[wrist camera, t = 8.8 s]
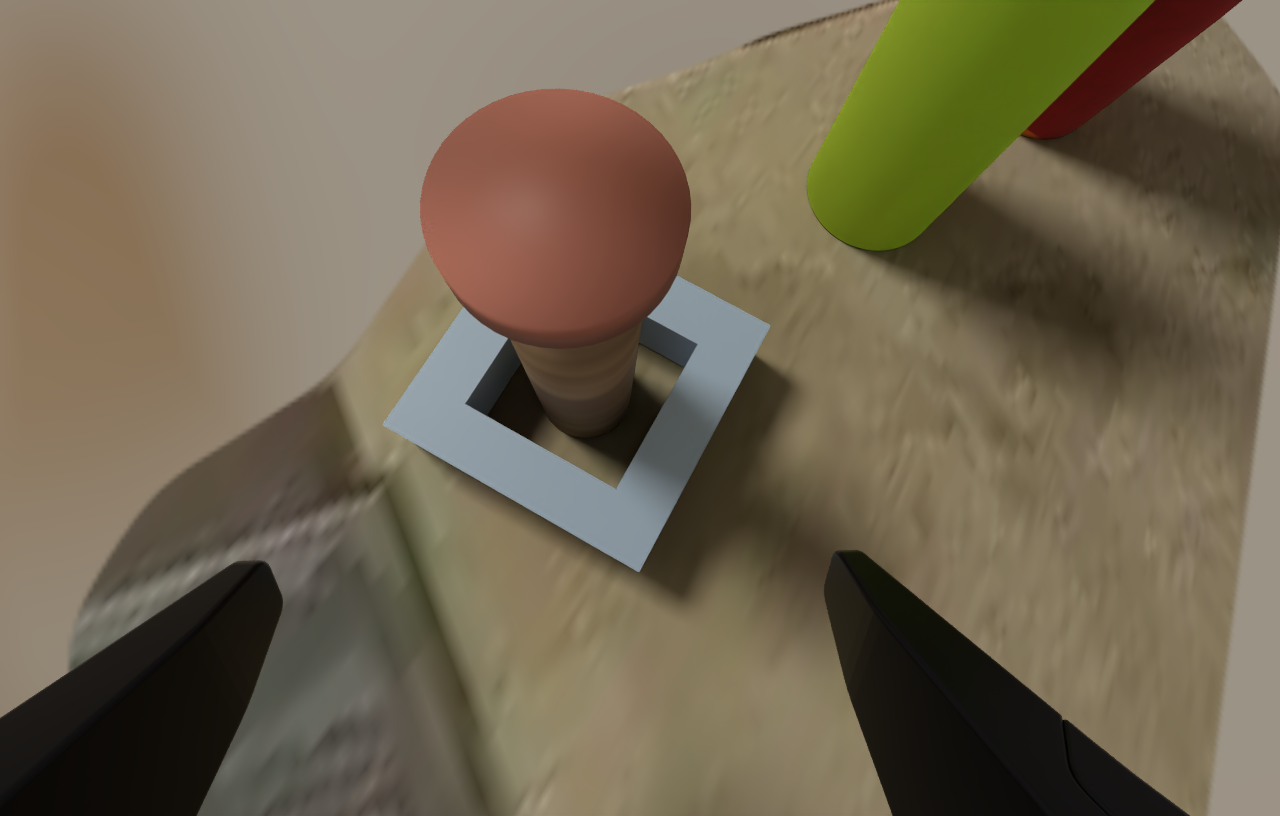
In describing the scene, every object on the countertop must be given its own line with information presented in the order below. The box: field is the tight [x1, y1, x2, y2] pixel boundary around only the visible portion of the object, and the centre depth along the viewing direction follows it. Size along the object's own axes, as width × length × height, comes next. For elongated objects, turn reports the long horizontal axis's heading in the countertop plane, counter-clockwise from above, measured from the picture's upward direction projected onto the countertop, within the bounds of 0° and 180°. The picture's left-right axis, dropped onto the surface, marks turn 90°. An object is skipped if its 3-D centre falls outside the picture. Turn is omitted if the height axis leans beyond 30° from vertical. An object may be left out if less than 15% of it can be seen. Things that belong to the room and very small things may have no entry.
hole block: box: [383, 276, 771, 572], centre depth 22 cm, size 10×10×3 cm
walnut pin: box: [420, 89, 691, 438], centre depth 17 cm, size 5×5×14 cm
